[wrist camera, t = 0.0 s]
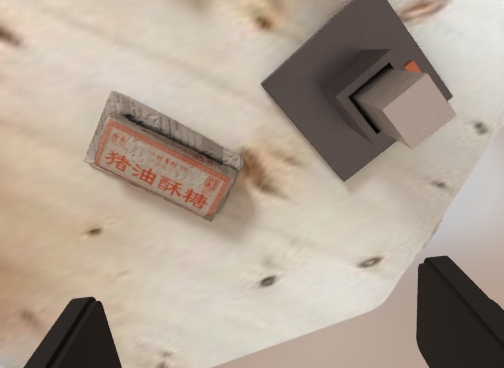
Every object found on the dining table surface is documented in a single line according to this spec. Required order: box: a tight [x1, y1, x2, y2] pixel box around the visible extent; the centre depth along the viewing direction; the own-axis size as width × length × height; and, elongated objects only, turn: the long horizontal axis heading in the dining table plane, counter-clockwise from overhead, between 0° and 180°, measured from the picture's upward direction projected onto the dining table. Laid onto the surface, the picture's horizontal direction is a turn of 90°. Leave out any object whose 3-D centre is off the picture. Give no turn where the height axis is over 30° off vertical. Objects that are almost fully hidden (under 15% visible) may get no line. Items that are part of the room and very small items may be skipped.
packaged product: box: [84, 91, 244, 222], centre depth 46 cm, size 18×5×10 cm
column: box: [348, 68, 456, 149], centre depth 36 cm, size 4×4×16 cm
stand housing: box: [261, 0, 453, 182], centre depth 41 cm, size 16×16×10 cm
